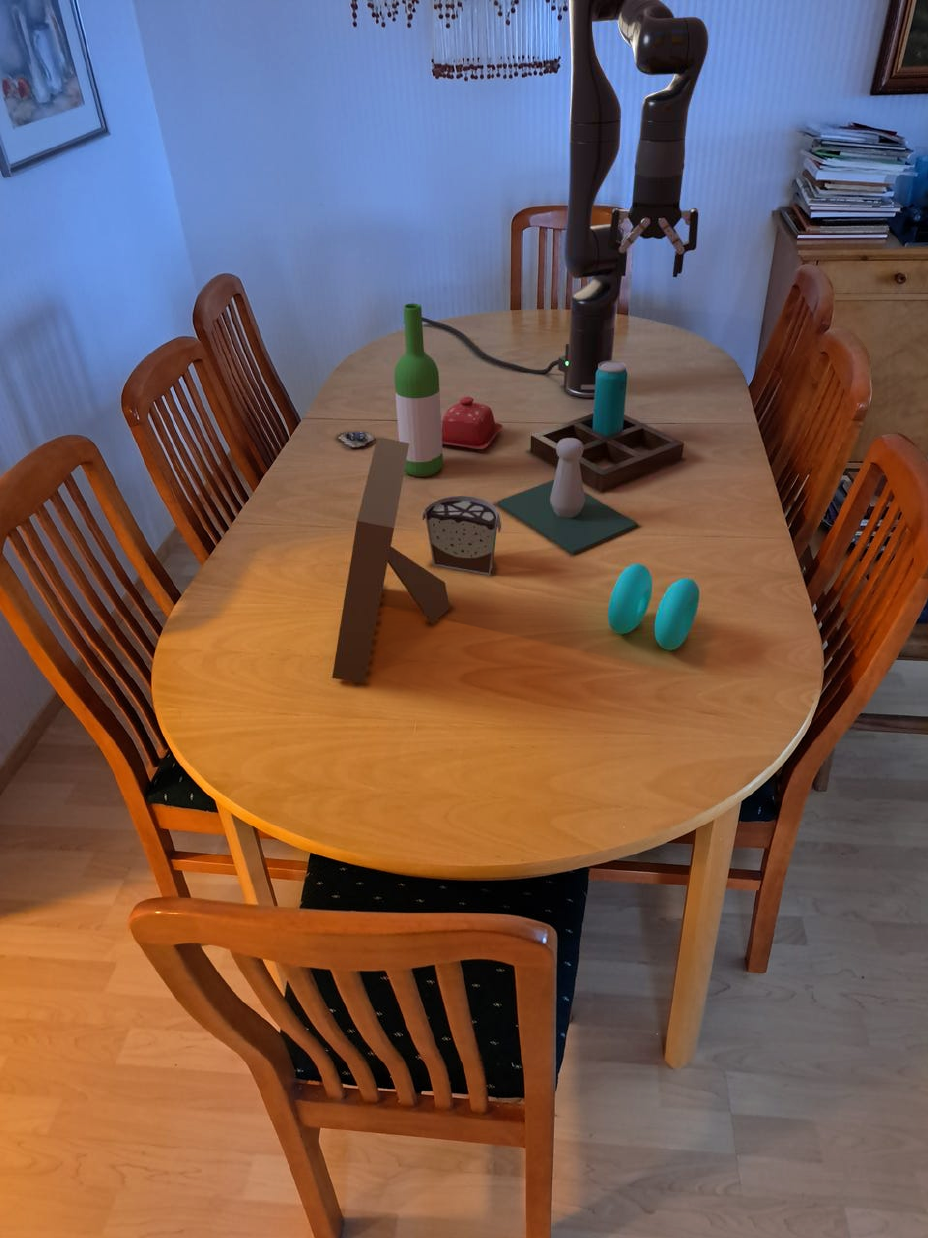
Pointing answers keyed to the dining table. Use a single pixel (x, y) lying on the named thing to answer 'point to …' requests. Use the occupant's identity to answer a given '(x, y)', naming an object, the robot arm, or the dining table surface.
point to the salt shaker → (568, 479)
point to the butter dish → (469, 425)
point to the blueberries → (356, 438)
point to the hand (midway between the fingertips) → (648, 275)
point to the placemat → (567, 519)
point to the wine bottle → (418, 400)
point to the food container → (462, 533)
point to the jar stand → (610, 450)
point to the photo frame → (379, 564)
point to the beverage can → (609, 397)
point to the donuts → (634, 601)
